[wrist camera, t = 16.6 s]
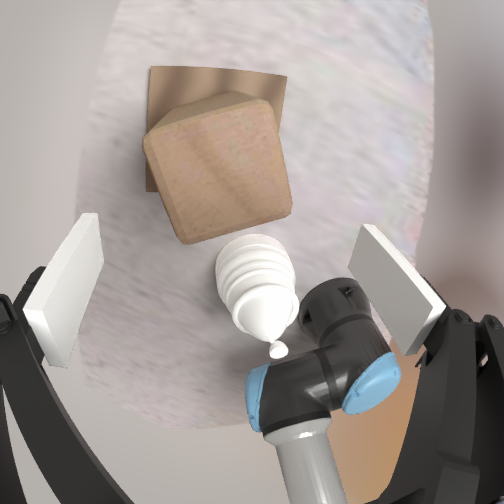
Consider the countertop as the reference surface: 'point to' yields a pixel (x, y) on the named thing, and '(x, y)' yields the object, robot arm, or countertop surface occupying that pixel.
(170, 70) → the walnut board
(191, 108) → the wooden block
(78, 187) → the countertop surface
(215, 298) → the countertop surface
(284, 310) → the honey pot
